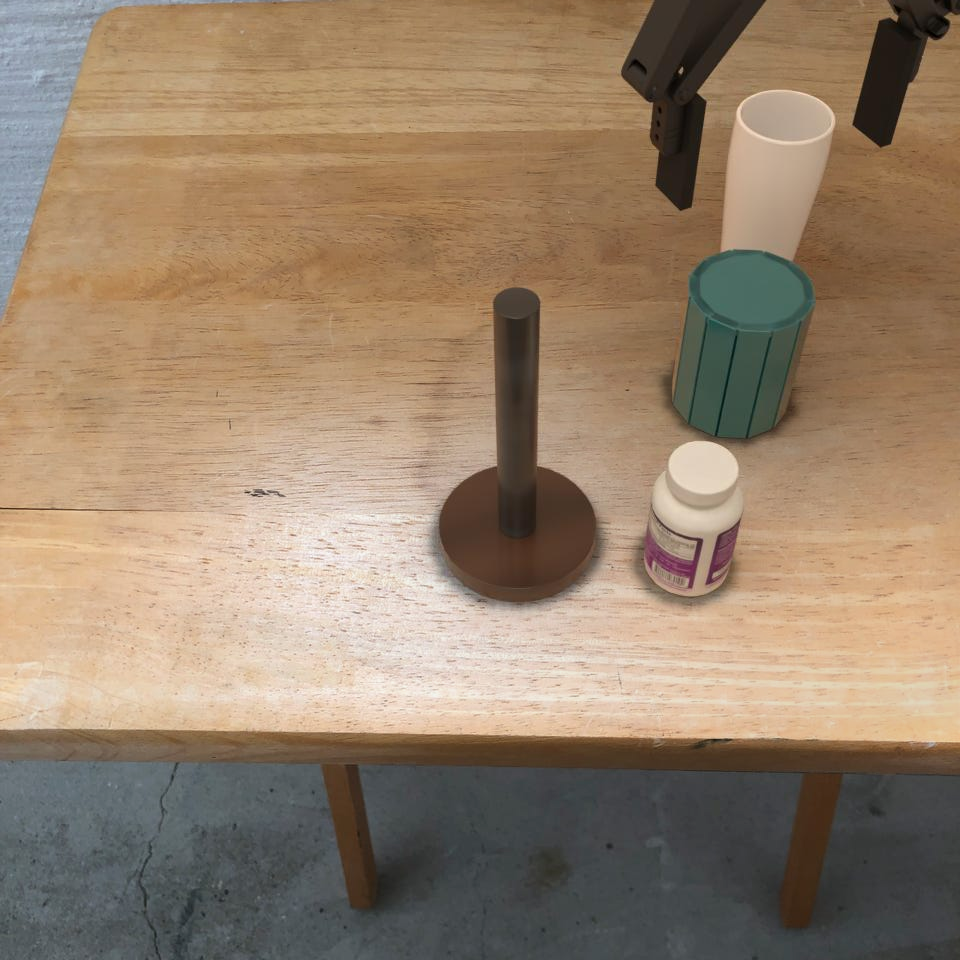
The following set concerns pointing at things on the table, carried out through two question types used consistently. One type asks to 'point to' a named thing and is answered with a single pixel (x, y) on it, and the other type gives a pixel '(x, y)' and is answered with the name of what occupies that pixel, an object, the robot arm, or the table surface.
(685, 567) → the pill bottle
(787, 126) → the drinking glass
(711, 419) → the teal fluted cylinder
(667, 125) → the robot arm
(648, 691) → the table surface
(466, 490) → the towel holder
